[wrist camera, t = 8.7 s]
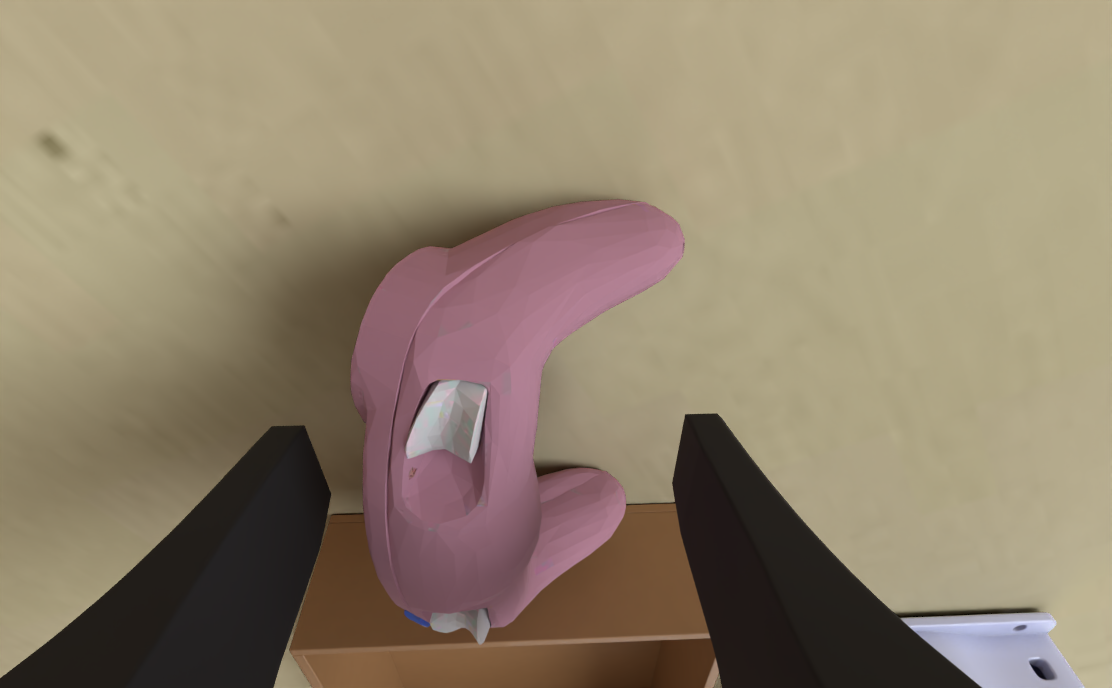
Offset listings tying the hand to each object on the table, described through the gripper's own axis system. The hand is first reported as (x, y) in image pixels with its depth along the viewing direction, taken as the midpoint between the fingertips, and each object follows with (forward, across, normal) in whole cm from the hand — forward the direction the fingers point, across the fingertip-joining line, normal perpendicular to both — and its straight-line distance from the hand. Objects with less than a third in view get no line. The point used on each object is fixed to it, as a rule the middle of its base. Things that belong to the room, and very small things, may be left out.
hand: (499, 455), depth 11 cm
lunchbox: (+4, 0, +14) cm, 14 cm away
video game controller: (+4, 0, +1) cm, 4 cm away
